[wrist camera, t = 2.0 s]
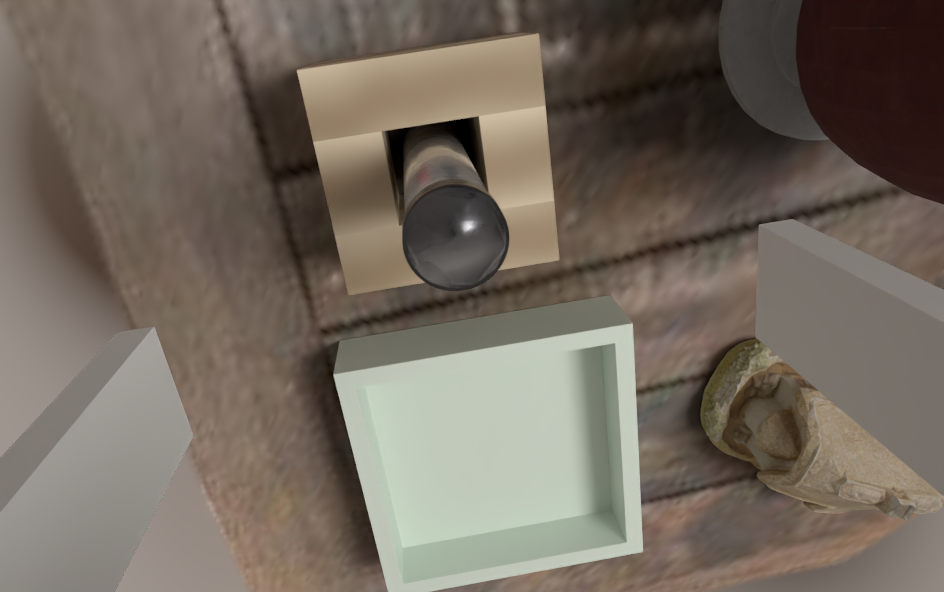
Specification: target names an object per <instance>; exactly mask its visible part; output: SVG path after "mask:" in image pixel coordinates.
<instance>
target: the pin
mask: <svg viewBox="0 0 944 592" xmlns="http://www.w3.org/2000/svg"><path fill="white" fill-rule="evenodd" d="M403 171H404V203H405V214H404V218H403V223H402V245H403V251H404V255H405V258H406V260H407V263H408V264H409V266H410V268H411V269H412V271H413V272H414V273H415V274H416V275H417V276H418V277H419V278H420V279H421V280H423V281H424V282H425V283H427V284H429V285H431V286H433V287H436V288H439V289H442V290H448V291H461V290H467V289H471V288H474V287H477V286H479V285H481V284H483V283H484V282H486V281H487V280H489V279H490V278H491V277H492V276H493V275H494V274H495V273H496V272H497V271H498V270H499V268H500V267H501V265H502V264H503V262H504V260H505V258H506V255H507V252H508V248H509V229H508V225H507V222H506V219H505V217H504V215H503V213H502V211H501V209H500V208H499V206H498V204H497V202H496V201H495V199H494V198H493V197H492V196H491V195H490V194H489V193H488V192H487V190H486V188H485V187H484V185H483V183H482V181H481V179H480V177H479V175H478V173H477V172H476V170H475V168H474V166H473V164H472V162H471V160H470V158H469V157H468V155H467V153H466V151H465V149H464V147H463V145H462V143H461V142H460V140H459V138H458V136H457V134H456V133H455V131H454V130H453V129H452V128H451V127H450V126H449V125H448V124H446V123H444V122H438V123H432V124H426V125H419V126H413V127H412V128H410V130H409V131H408V132H407V134H406V136H405V138H404V142H403Z"/></svg>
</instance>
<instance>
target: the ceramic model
mask: <svg viewBox="0 0 944 592" xmlns="http://www.w3.org/2000/svg"><path fill="white" fill-rule="evenodd" d="M702 399H703V401H702V405H701V413H700V415H701V422H702V426H703V428H704V430H705V432H706V434H707V436H708V437H709V439H710V440H711V442H712V443H713V444H714V445H715V446H716V447H717V448H719V449H720V450H721V451H723V452H724V453H726V454H727V455H731V456H734V457H736V458H739V459H741V460H745V461H750V462H751V463H752V464H753V465H754V466H755V467H756V468H758V469H760V470H761V471H759V472H758V473H757V478H758V479H759V480H760V481H761V482H762V483H764V484H766V485H767V486H768V487H769V488H770V489H773V490H775V491H777V492H780V493H783V494H786V495H789V496H791V497H794V498H797V499H800V500H803V501H804V505H806V506H807V507H808V508H810V509H811V510H813V511H815V512H822V513H830V514H838V513H844V512H847V511H852V510H863V509H871V510H881V511H882V512H884V513H885V514H887V515H889V516H891V517H894V518H902V519H904V520H908V519H909V518H910V516H911V515H912V514H913V512H914V513H918V514H925V513H933V512H937V511H938V510H939V509H940V508H941V507H942V505H943V504H944V496H943V495H941V494H940V493H939V492H938V491H937V490H936V489H934V488H933V487H932V486H931V485H930V484H928V483H927V482H926V481H925V480H924V479H923V478H921V477H920V476H919V475H918V474H917V473H915V472H914V471H913V470H912V469H911V468H910V467H908V466H907V465H906V464H905V463H904V462H902V461H901V460H900V459H899V458H898V457H897V456H895V455H894V454H893V453H892V452H891V451H889V450H888V449H887V448H886V447H885V446H884V445H882V444H881V443H880V442H879V441H878V440H876V439H875V438H874V437H873V436H872V435H871V434H869V433H868V432H867V431H866V430H865V429H863V428H862V427H861V426H860V425H859V424H858V423H856V422H855V421H854V420H853V419H852V418H850V417H849V416H848V415H847V414H846V413H845V412H843V411H842V410H841V409H840V408H839V407H837V406H836V405H835V404H834V403H833V402H832V401H830V400H829V399H828V398H827V397H826V396H824V395H823V394H822V393H821V392H820V391H819V390H817V389H816V388H815V387H814V386H813V385H811V384H810V383H809V382H808V381H807V380H806V379H804V378H803V377H802V376H801V375H800V374H798V373H797V372H796V371H795V370H794V369H793V368H791V367H790V366H789V365H788V364H787V363H785V362H784V361H783V360H782V359H781V358H780V357H778V356H777V355H776V354H775V353H774V352H772V351H771V350H770V349H769V348H768V347H767V346H765V345H764V344H763V343H762V342H761V341H759V340H758V339H757V338H756V339H751V340H747V341H744V342H742V343H739V344H738V345H736V346H735V347H733V348H732V349H731V350H730V351H728V352H727V353H726V355H725V357H724V358H723V359H722V360H721V362H720V363H719V365H718V367H717V368H716V369H715V372H714V373H713V375H712V376H711V378H710V379H709V382H708V384H707V386H706V387H705V391H704V394H703V398H702Z"/></svg>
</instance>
